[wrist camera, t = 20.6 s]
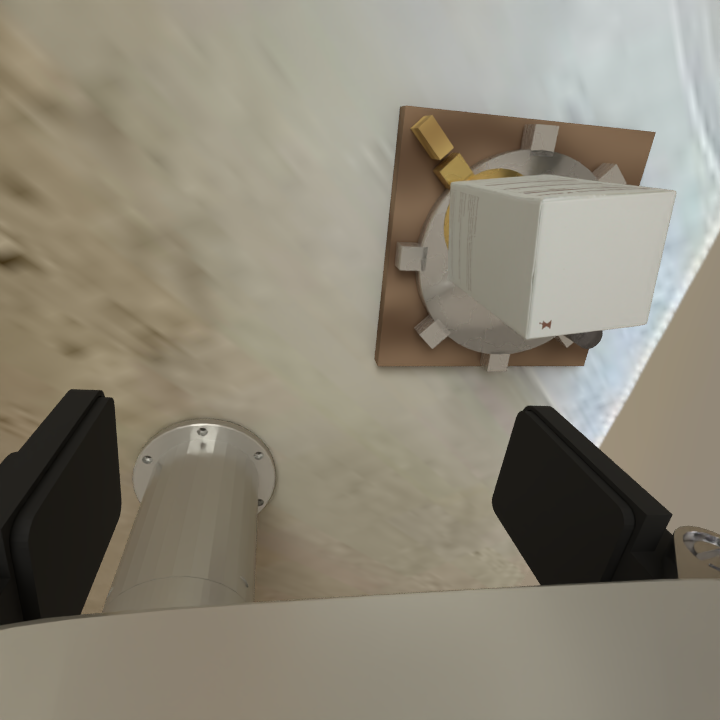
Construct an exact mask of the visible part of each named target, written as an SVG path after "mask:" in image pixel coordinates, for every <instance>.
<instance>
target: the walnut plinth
mask: <svg viewBox="0 0 720 720" xmlns="http://www.w3.org/2000/svg"><path fill="white" fill-rule="evenodd" d="M526 124H542V125H554V126H559V130H558V135H557V140H556V144H555V149H554V152H557V153H560V154H563V155H566V156H569V157H571V158H573V159H574V160H576V161H578V162H580V163H581V164H582V165H584V166H585V167H586V168H588V169H589V170H590V171H591V172H593V171H594V170H596V169H597V168H598V167H599V166H600V165H601V164H602V163H610V164H617V166H618V168H619V170H620V171H621V173H622V175H623V177H624V179H625V181H626V184H625V185H634V186H639V185H640V181H641V178H642V175H643V172H644V168H645V165H646V162H647V159H648V156H649V152H650V149H651V146H652V143H653V139H654V136H655V133H656V132H649V131H640V130H630V129H621V128H611V127H602V126H592V125H583V124H574V123H564V122H555V121H545V120H536V119H526V118H517V117H508V116H498V115H489V114H479V113H470V112H461V111H451V110H442V109H432V108H423V107H413V106H402V107H400V115H399V124H398V134H397V144H396V154H395V164H394V173H393V183H392V193H391V203H390V213H389V222H388V232H387V242H386V252H385V261H384V271H383V281H382V291H381V301H380V310H379V320H378V330H377V340H376V350H375V361H376V363H377V365H378V366H482V365H481V364H480V360H481V354H482V353H481V352H477V351H474V350H471V349H468V348H466V347H464V346H462V345H460V344H458V343H457V342H455V341H454V340H452V339H451V338H450V337H448V336H447V337H446V338H445V339H444V340H442V341H441V342H440V343H439V344H438V345H437V346H435V347H434V348H433V349H432V348H431V347H430V346H429V345H428V344H427V343H426V342H425V341H424V339H423V338H422V337H421V336H420V335H419V334H418V332H417V331H416V330H415V328H414V327H415V326H417V325H418V324H419V323H420V322H421V321H422V320H423V319H425V318H426V317H427V316H428V315H429V314H428V312H427V310H426V308H425V307H424V305H423V303H422V300H421V297H420V295H419V292H418V287H417V282H416V274H415V271H405V270H399V269H398V268H397V267H396V266H395V258H396V247H397V242H410V243H418V239H419V236H420V233H421V230H422V227H423V224H424V222H425V220H426V217H427V215H428V213H429V212H430V210H431V208H432V206H433V205H434V203H435V201H436V200H437V199H438V197H439V196H440V195H441V193H442V192H443V191H444V190H445V186H444V185H443V184H442V182H441V181H440V180H439V178H438V177H437V175H436V174H435V173H434V171H433V170H434V169H435V168H436V167H437V166H438V165H439V164H440V163H441V162H442V161H443V160H444V159H445V158H446V157H448V156H449V155H450V154H451V153H460V154H461V156H462V157H463V159H464V160H465V162H466V163H467V165H468V166H469V167H471V166H473V165H474V164H476V163H477V162H479V161H481V160H483V159H486V158H488V157H490V156H492V155H496V154H499V153H502V152H506V151H512V150H520V148H521V142H522V137H523V132H524V126H525V125H526ZM588 350H589V349H584V348H581V347H580V346H578V345H577V344H576V343H574V342H573V343H572V344H571V345H570V346H569V347H565V346H564V345H562V344H561V343H560V342H558V341H557V340H556V339H555V338H553V339H551V340H550V341H548V342H546V343H544V344H542V345H540V346H537V347H535V348H532V349H529V350H526V351H523V352H518V353H513V354H510V357H509V361H508V366H584V363H585V360H586V357H587V353H588Z"/></svg>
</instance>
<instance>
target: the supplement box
mask: <svg viewBox="0 0 720 720" xmlns="http://www.w3.org/2000/svg"><path fill="white" fill-rule="evenodd" d="M675 197H676V191H673V190H667V189H659V188H650V187H642V186H634V185H625V184H616V183H606V182H599V181H591V180H584V179H577V178H570V177H563V176H556V175H546V174H544V175H534V176H521V177H507V178H493V179H480V180H467V181H456V182H451V185H450V213H449V250H448V279H449V280H450V281H451V282H453V283H454V284H455V285H456V286H458V287H459V288H460V289H462V290H463V291H464V292H465V293H467V294H468V295H469V296H471V297H472V298H473V299H474V300H476V301H477V302H478V303H479V304H481V305H482V306H483V307H485V308H486V309H487V310H488V311H490V312H491V313H492V314H494V315H495V316H496V317H497V318H499V319H500V320H501V321H503V322H504V323H505V324H506V325H508V326H509V327H510V328H512V329H513V330H514V331H515V332H517V333H518V334H519V335H520V336H522V337H523V338H524V339H526V340H531V339H537V338H544V337H551V336H559V335H567V334H575V333H584V332H592V331H600V330H608V329H616V328H625V327H633V326H640V325H645V324H646V323H647V321H648V316H649V311H650V306H651V302H652V298H653V293H654V288H655V284H656V280H657V275H658V271H659V267H660V262H661V258H662V253H663V249H664V244H665V240H666V236H667V231H668V227H669V223H670V218H671V214H672V209H673V205H674V201H675Z"/></svg>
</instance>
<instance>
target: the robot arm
mask: <svg viewBox="0 0 720 720" xmlns="http://www.w3.org/2000/svg"><path fill="white" fill-rule="evenodd" d="M132 480H133V487H134V491H135V494H136V496H137V499H138V501H139V502H140V503H141V504H140V507H139V510H138V513H137V515H136V518H135V521H134V524H133V527H132V529H131V532H130V535H129V538H128V540H127V543H126V546H125V549H124V552H123V554H122V557H121V560H120V563H119V566H118V568H117V571H116V574H115V577H114V580H113V582H112V585H111V588H110V591H109V593H108V596H107V599H106V602H105V605H104V608H103V611H102V613H94V614H84V615H80V614H81V612H82V609H83V607H84V604H85V602H86V599H87V597H88V594H89V592H90V589H91V587H92V584H93V582H94V579H95V577H96V574H97V572H98V569H99V567H100V565H101V562H102V560H103V557H104V555H105V552H106V550H107V547H108V545H109V542H110V540H111V537H112V535H113V532H114V530H115V527H116V525H117V522H118V520H119V517H120V512H121V488H120V474H119V460H118V447H117V433H116V419H115V405H114V400H113V398H110V397H105V396H104V393H103V391H102V390H77V389H71V390H69V391H68V392H67V393H66V395H65V396H64V397H63V398H62V399H61V401H60V402H59V403H58V404H57V405H56V407H55V408H54V409H53V410H52V412H51V413H50V414H49V415H48V416H47V418H46V419H45V420H44V421H43V422H42V424H41V425H40V426H39V427H38V428H37V430H36V431H35V432H34V433H33V434H32V436H31V437H30V438H29V439H28V440H27V442H26V443H25V444H24V445H23V446H22V448H21V449H20V450H19V451H18V452H14V453H11V454H10V455H8V456H7V457H6V458H5V459H4V460H3V462H2V463H1V464H0V720H720V535H719V534H717V533H715V532H713V531H709V530H707V529H703V528H700V527H693V526H682V527H679V528H678V529H676V530H675V531H674V533H673V535H672V534H671V533H670V532H669V531H667V529H666V526H667V525H668V523H669V521H670V518H671V517H672V514H671V513H670V512H669V511H668V510H667V509H666V508H665V507H663V506H662V505H661V504H660V503H659V502H658V501H657V500H656V499H655V498H653V497H652V496H651V495H650V494H649V493H648V492H647V491H646V490H644V489H643V488H642V487H641V486H640V485H639V484H638V483H637V482H636V481H634V480H633V479H632V478H631V477H630V476H629V475H628V474H627V473H625V472H624V471H623V470H622V469H621V468H620V467H619V466H618V465H616V464H615V463H614V462H613V461H612V460H611V459H610V458H608V456H606V455H605V454H604V453H603V452H602V451H601V450H600V449H599V448H597V447H596V446H595V445H594V444H593V443H592V442H591V441H590V440H588V439H587V438H586V437H585V436H584V435H583V434H582V433H581V432H580V431H578V430H577V429H576V428H575V427H574V426H573V425H572V424H571V423H569V422H568V421H567V420H566V419H565V418H564V417H563V416H562V415H560V414H559V413H558V412H557V411H556V410H555V409H554V408H552V407H550V406H527V407H525V409H524V410H523V411H521V412H519V413H518V415H517V417H516V420H515V423H514V427H513V430H512V433H511V437H510V440H509V444H508V447H507V450H506V454H505V457H504V460H503V464H502V467H501V470H500V474H499V477H498V480H497V484H496V487H495V490H494V494H493V497H492V506H493V510H494V512H495V514H496V515H497V517H498V518H499V520H500V522H501V523H502V525H503V526H504V528H505V530H506V531H507V533H508V534H509V536H510V537H511V539H512V541H513V542H514V544H515V545H516V547H517V549H518V550H519V552H520V553H521V555H522V556H523V558H524V560H525V561H526V563H527V564H528V566H529V567H530V569H531V571H532V572H533V574H534V575H535V577H536V579H537V580H538V582H539V583H540V585H539V586H520V587H502V588H484V589H466V590H448V591H430V592H413V593H396V594H379V595H362V596H345V597H329V598H312V599H296V600H280V601H265V602H254V593H255V566H256V539H257V515H258V513H259V512H260V511H261V510H262V509H263V508H264V507H265V506H266V504H267V503H268V501H269V500H270V498H271V496H272V493H273V490H274V486H275V466H274V461H273V458H272V456H271V454H270V452H269V450H268V448H267V447H266V446H265V444H264V443H263V442H262V441H261V440H260V439H259V438H258V437H257V436H256V435H254V434H253V433H252V432H250V431H249V430H247V429H245V428H243V427H241V426H239V425H236V424H233V423H231V422H228V421H222V420H216V419H195V420H187V421H183V422H180V423H177V424H173V425H171V426H169V427H167V428H165V429H163V430H161V431H160V432H158V433H157V434H156V435H155V436H153V437H152V438H151V439H150V440H149V441H148V442H147V443H146V444H145V446H144V447H143V448H142V450H141V452H140V454H139V456H138V458H137V461H136V463H135V466H134V469H133V478H132Z"/></svg>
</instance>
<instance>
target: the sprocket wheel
mask: <svg viewBox="0 0 720 720" xmlns="http://www.w3.org/2000/svg"><path fill="white" fill-rule="evenodd" d="M558 130H559V126H554V125H542V124H526V125H525V126H524V132H523V137H522V142H521V148H520V150H512V151H506V152H502V153H499V154H496V155H492V156H490V157H488V158H486V159H483V160H481V161H479V162H477V163H476V164H474V165H473V166H471V167H469V166H468V165H467V163H466V162H465V160H464V159H463V157H462V156H461V154H460V153H451V154H450V155H449V156H448V157H446V158H445V159H444V160H443V161H442V162H441V163H440V164H439V165H438V166H437V167H436V168H435V169H434V170H433V171H434V173H435V174H436V175H437V177H438V178H439V180H440V181H441V182H442V184H443V185H444V186H445V190H444V191H443V192H442V193H441V195H440V196H439V197H438V199H437V200H436V201H435V203H434V205H433V206H432V208H431V210H430V212H429V213H428V215H427V217H426V220H425V222H424V224H423V227H422V230H421V233H420V236H419V239H418V243H410V242H397V247H396V258H395V266H396V267H397V268H398V269H399V270H405V271H415V274H416V282H417V287H418V292H419V295H420V297H421V300H422V303H423V305H424V307H425V308H426V310H427V312H428V314H429V315H428V316H427V317H426V318H425V319H423V320H422V321H421V322H420V323H419V324H418V325H417V326H415V327H414V328H415V330H416V331H417V332H418V334H419V335H420V336H421V337H422V338H423V339H424V341H425V342H426V343H427V344H428V345H429V346H430V347H431V348H432V349H433V348H434V347H435V346H437V345H438V344H439V343H440V342H441V341H442V340H444V339H445V338H446V337H447V336H448V337H450V338H451V339H452V340H454V341H455V342H457V343H458V344H460V345H462V346H464V347H466V348H468V349H471V350H474V351H477V352H481V353H482V354H481V360H480V364H481V365H482V367H483V368H484V369H485V370H486V371H487V372H488V371H506V370H507V366H508V361H509V357H510V354H513V353H518V352H523V351H526V350H529V349H532V348H535V347H537V346H540V345H542V344H544V343H546V342H548V341H550V340H551V339H553V338H555V339H556V340H557V341H558V342H560V343H561V344H562V345H564V346H565V347H569V346H570V345H571V344H572V343H573V342H574V343H576V344H577V345H578V346H580V347H581V348H584V349H590V348H593V347H594V346H596V345H597V344H598V343H599V342H600V340H601V338H602V330H600V331H592V332H584V333H575V334H567V335H559V336H551V337H544V338H537V339H531V340H526V339H524V338H523V337H522V336H520V335H519V334H518V333H517V332H515V331H514V330H513V329H512V328H510V327H509V326H508V325H506V324H505V323H504V322H503V321H501V320H500V319H499V318H497V317H496V316H495V315H494V314H492V313H491V312H490V311H488V310H487V309H486V308H485V307H483V306H482V305H481V304H479V303H478V302H477V301H476V300H474V299H473V298H472V297H471V296H469V295H468V294H467V293H465V292H464V291H463V290H462V289H460V288H459V287H458V286H456V285H455V284H454V283H453V282H451V281H450V280H449V279H448V250H449V213H450V185H451V182H456V181H467V180H480V179H493V178H507V177H521V176H534V175H544V174H546V175H556V176H563V177H570V178H577V179H584V180H591V181H599V182H606V183H616V184H626V181H625V179H624V177H623V175H622V173H621V171H620V170H619V168H618V166H617V164H610V163H602V164H601V165H600V166H599V167H598V168H597V169H596V170H594V171H593V172H591V171H590V170H589V169H588V168H586V167H585V166H584V165H582V164H581V163H580V162H578V161H576V160H574V159H573V158H571V157H569V156H566V155H563V154H560V153H557V152H554V149H555V144H556V140H557V135H558Z"/></svg>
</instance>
